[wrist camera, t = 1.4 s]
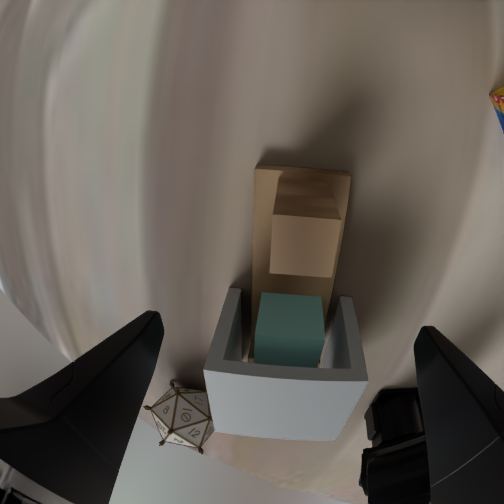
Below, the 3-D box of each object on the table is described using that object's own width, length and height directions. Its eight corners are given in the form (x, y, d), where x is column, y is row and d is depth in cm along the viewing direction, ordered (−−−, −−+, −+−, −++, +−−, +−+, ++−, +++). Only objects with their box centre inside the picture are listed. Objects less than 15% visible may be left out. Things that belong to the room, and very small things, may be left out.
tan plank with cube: (347, 172, 18) (375, 212, 12) (317, 342, 26) (319, 408, 20) (256, 164, 19) (237, 201, 13) (252, 337, 26) (240, 402, 20)
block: (321, 296, 22) (325, 339, 18) (312, 337, 24) (313, 379, 20) (261, 292, 22) (254, 334, 18) (259, 333, 24) (253, 375, 21)
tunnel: (351, 296, 23) (368, 381, 16) (331, 366, 27) (334, 440, 20) (229, 287, 24) (203, 369, 17) (232, 358, 28) (215, 431, 21)
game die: (194, 374, 37) (148, 426, 32) (172, 352, 30) (116, 414, 26) (247, 413, 33) (198, 470, 28) (236, 401, 26) (173, 471, 22)
